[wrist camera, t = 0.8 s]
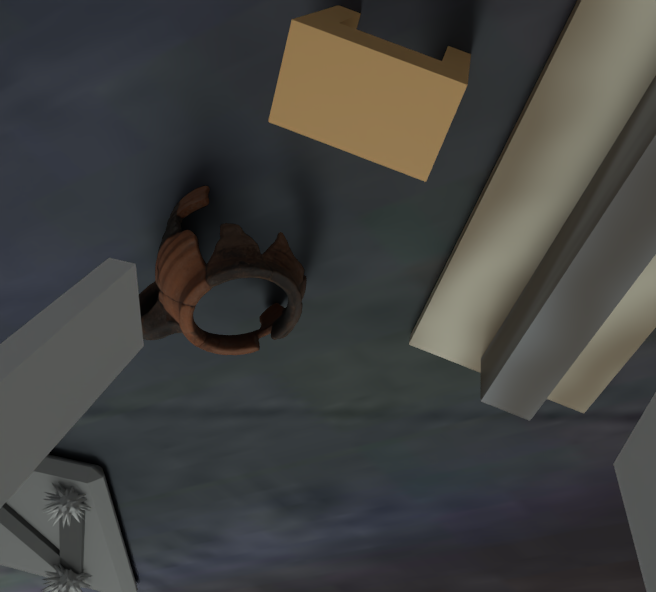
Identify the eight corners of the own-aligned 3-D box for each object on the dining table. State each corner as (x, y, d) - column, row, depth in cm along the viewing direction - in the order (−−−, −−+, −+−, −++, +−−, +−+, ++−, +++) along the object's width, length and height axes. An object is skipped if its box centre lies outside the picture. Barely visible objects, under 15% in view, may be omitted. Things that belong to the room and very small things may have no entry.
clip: (316, 85, 29) (268, 121, 23) (338, 5, 27) (291, 19, 20) (438, 131, 29) (426, 181, 22) (470, 54, 27) (467, 84, 20)
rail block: (410, 335, 36) (401, 384, 32) (595, -36, 24) (619, -35, 20) (581, 402, 36) (594, 460, 31) (860, 60, 23) (942, 81, 19)
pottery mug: (231, 144, 33) (251, 226, 27) (316, 234, 39) (347, 316, 34) (90, 253, 36) (81, 347, 30) (191, 320, 42) (199, 408, 37)
